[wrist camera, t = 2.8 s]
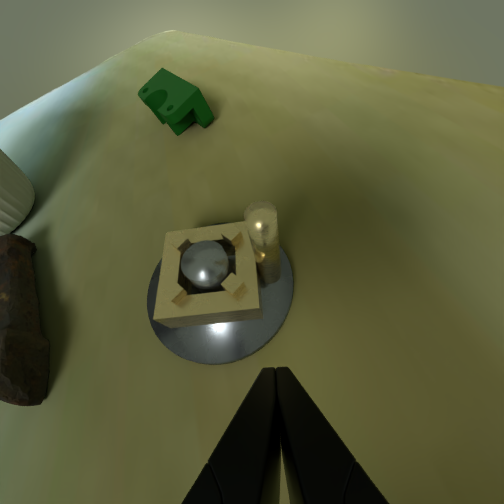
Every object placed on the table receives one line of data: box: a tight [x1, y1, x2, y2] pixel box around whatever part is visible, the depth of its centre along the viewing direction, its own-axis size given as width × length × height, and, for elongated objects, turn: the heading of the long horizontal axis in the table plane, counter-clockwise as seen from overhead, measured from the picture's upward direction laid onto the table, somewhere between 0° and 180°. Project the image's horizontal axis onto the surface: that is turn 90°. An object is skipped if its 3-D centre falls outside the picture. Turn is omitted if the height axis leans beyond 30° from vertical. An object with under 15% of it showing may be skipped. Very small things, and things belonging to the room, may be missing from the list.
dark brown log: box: [0, 234, 50, 406], centre depth 22 cm, size 19×4×5 cm, turn 32°
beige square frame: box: [153, 201, 281, 328], centre depth 18 cm, size 8×10×8 cm
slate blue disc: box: [147, 223, 293, 365], centre depth 21 cm, size 14×14×6 cm
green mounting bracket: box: [138, 68, 214, 136], centre depth 37 cm, size 12×6×9 cm, turn 33°
